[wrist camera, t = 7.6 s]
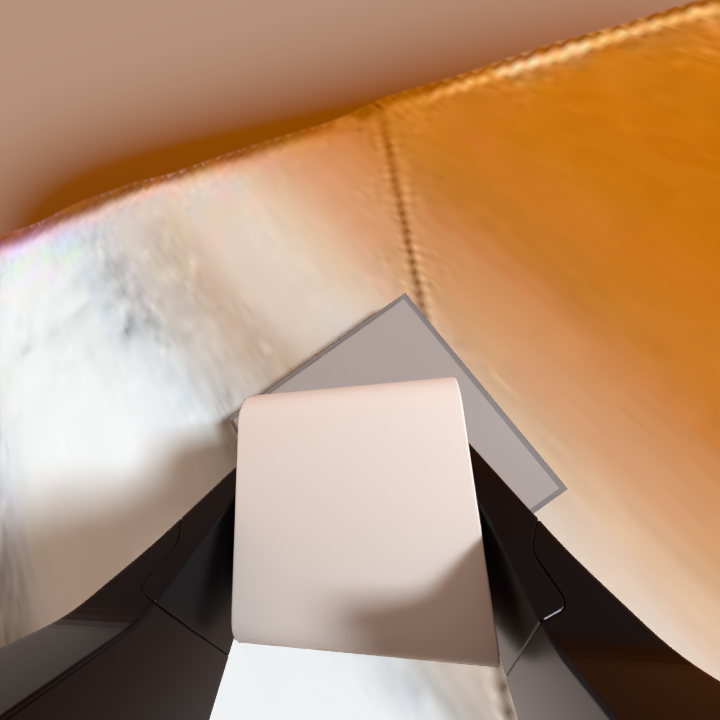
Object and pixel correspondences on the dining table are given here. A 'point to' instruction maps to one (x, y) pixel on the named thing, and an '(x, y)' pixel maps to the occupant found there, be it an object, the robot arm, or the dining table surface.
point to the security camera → (361, 525)
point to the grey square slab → (420, 362)
